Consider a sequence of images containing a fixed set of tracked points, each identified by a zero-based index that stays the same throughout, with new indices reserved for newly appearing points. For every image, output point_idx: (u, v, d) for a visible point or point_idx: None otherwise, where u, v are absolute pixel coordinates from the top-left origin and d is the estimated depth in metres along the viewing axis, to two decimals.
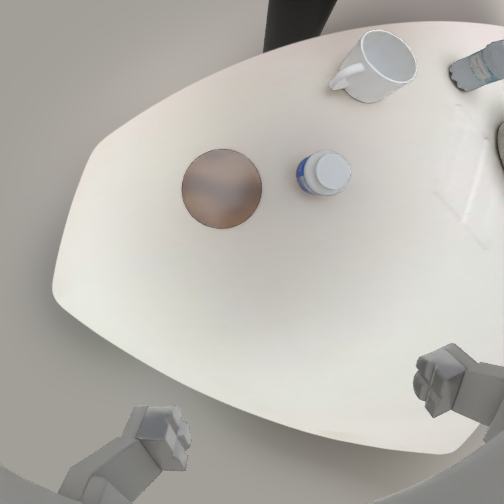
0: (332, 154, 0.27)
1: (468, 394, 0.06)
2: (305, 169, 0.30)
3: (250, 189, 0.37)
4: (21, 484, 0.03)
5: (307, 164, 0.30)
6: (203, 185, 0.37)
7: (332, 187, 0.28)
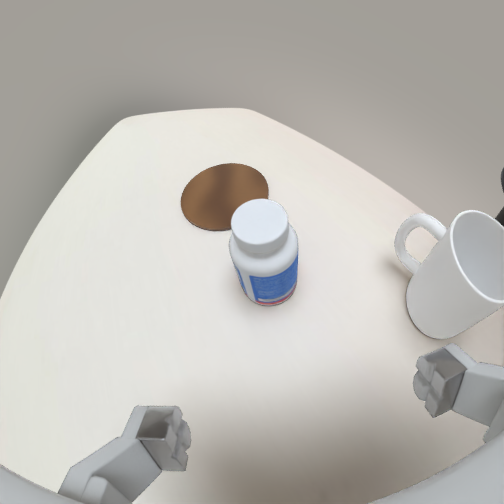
0: (283, 211, 0.19)
1: (468, 394, 0.06)
2: None
3: (228, 216, 0.31)
4: (21, 484, 0.03)
5: None
6: (223, 178, 0.35)
7: (233, 224, 0.19)
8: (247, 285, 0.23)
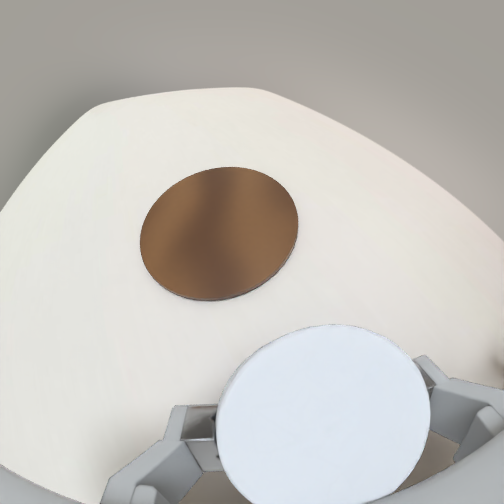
0: (418, 382, 0.04)
1: (438, 411, 0.06)
2: None
3: (222, 273, 0.16)
4: (21, 484, 0.03)
5: None
6: (216, 194, 0.20)
7: (227, 445, 0.04)
8: None
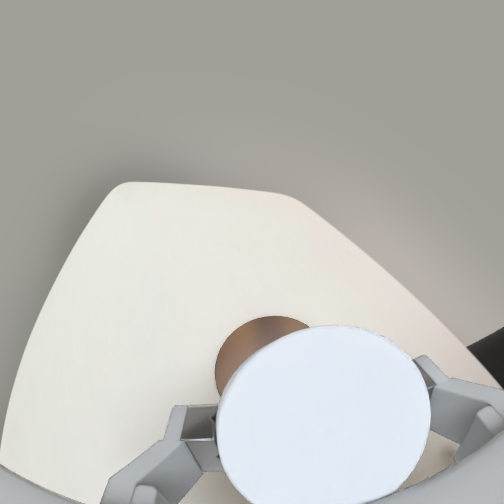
0: (418, 383, 0.04)
1: (438, 411, 0.06)
2: None
3: None
4: (21, 484, 0.03)
5: None
6: None
7: (227, 445, 0.04)
8: None
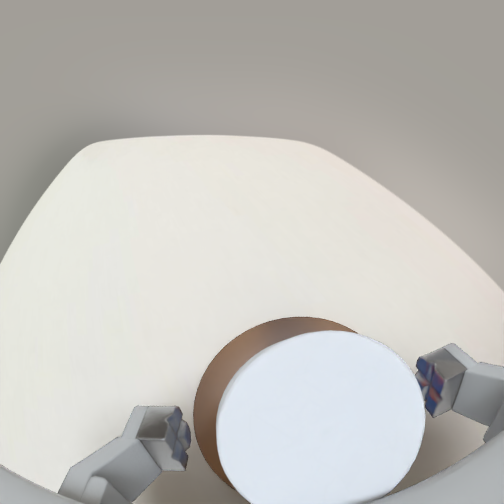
0: (413, 387, 0.04)
1: (468, 394, 0.06)
2: None
3: None
4: (21, 484, 0.03)
5: None
6: None
7: (227, 447, 0.04)
8: None
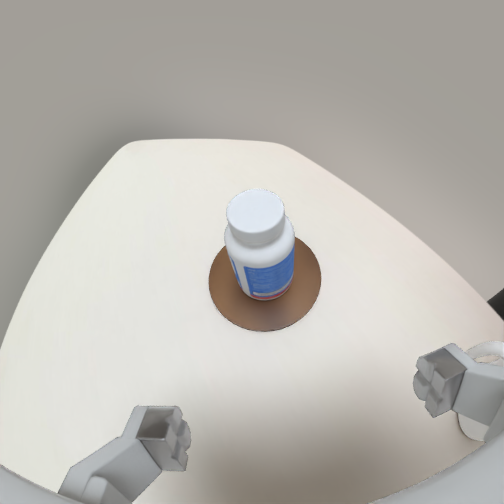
0: (280, 201, 0.19)
1: (468, 394, 0.06)
2: None
3: (273, 313, 0.25)
4: (21, 484, 0.03)
5: None
6: None
7: (229, 213, 0.19)
8: (242, 277, 0.23)
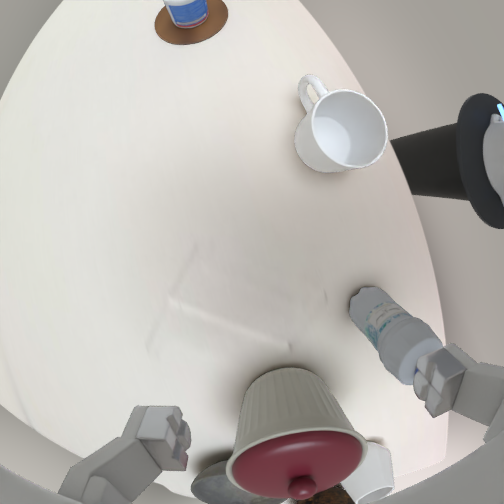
0: None
1: (468, 394, 0.06)
2: None
3: (187, 35, 0.29)
4: (21, 484, 0.03)
5: None
6: None
7: None
8: (170, 12, 0.25)
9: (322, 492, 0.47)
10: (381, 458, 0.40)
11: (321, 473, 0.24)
